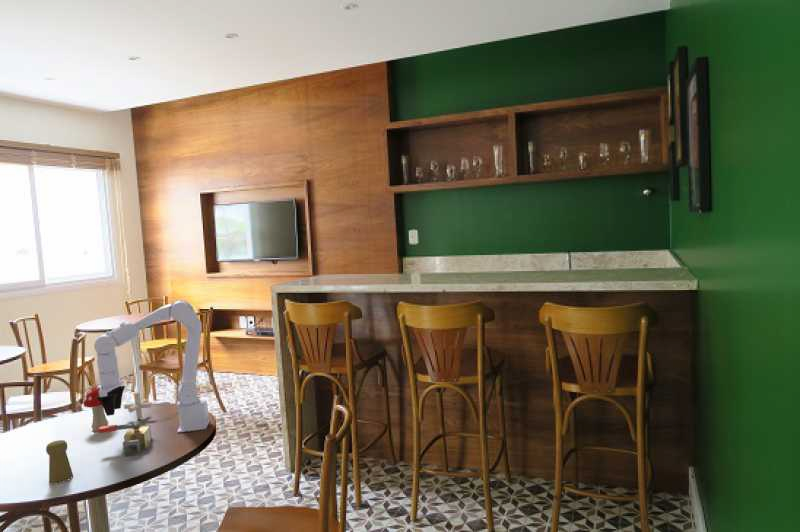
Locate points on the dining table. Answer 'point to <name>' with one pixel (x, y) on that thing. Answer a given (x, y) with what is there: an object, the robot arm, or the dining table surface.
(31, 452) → the dining table surface
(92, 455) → the dining table surface
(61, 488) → the dining table surface
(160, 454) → the dining table surface
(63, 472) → the cork
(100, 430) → the valve lever
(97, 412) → the decorative mushroom
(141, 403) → the pipe connector
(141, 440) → the valve body
